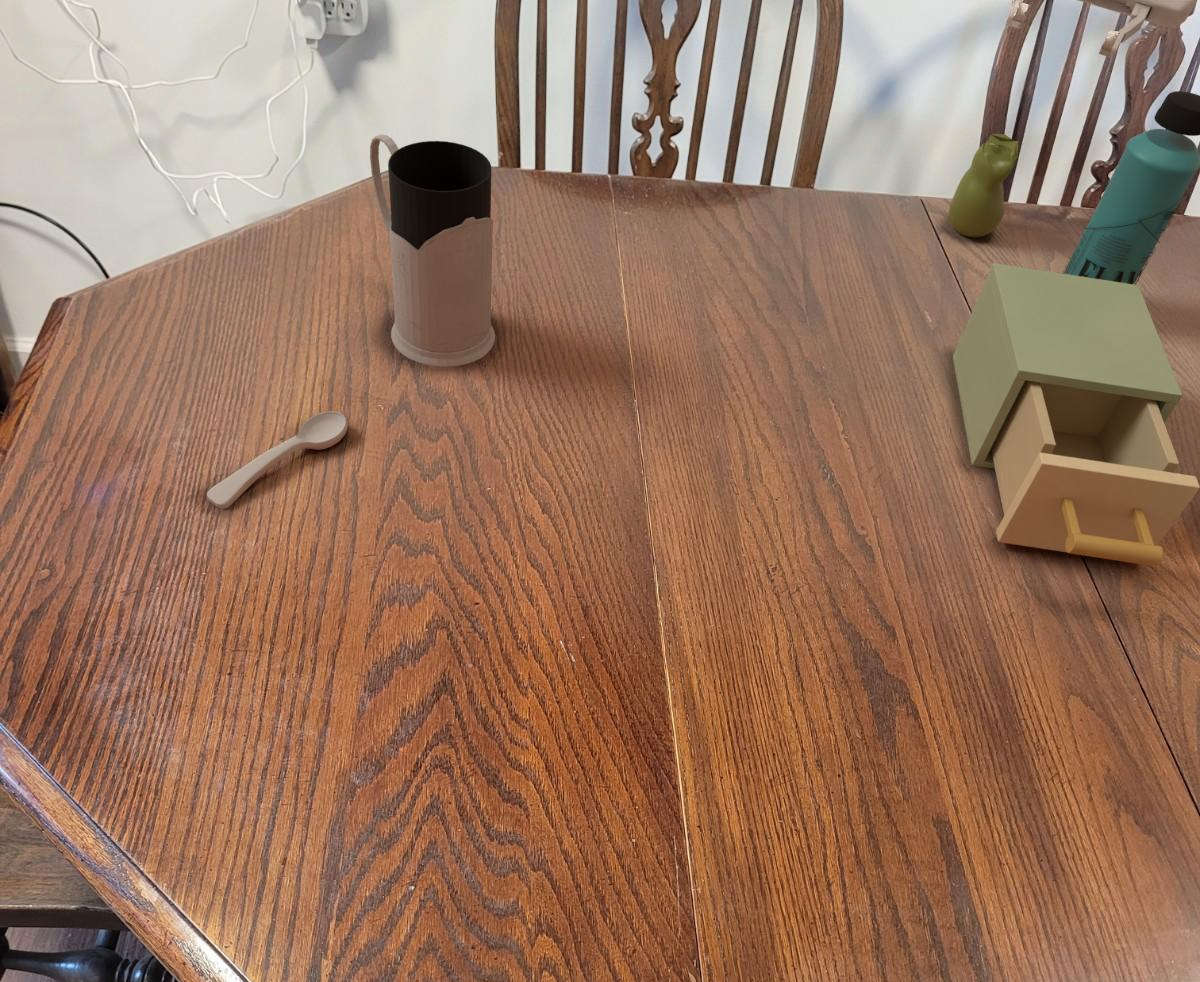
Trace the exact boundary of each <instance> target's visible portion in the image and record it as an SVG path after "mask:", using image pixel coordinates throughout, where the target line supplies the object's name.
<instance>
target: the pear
mask: <svg viewBox="0 0 1200 982" xmlns="http://www.w3.org/2000/svg"><path fill="white" fill-rule="evenodd" d="M1018 153H1019V141H1018V140H1014V139H1012V138H1011V137H1010V136H1008V135H1006V134H1004V133H992V134H991V135H989V137H988V139H987V141H986V142H984V143H983V144H981V146H980V147H979V148H978V149H977V150H976V152H975V153H974V155H973V158H972V160H971V164H970V166H969V168H968V169H967V170H966V172H964V174H963V176H962V177H961V178H960V181H959V182H958V185H957V187H956V190H955V192H954V194H953V196H952V199H951V201H950V204H949V210H948V218H949V222H950V224H951V227H953V229H954V230H955V231H956V232H957V233H958V234H960V235H962V236H965V237H968V238H981V237H984V236H987V235H989V234H991V233H992V232H993V231H994V230H995V229H997V227H998V226H999V224H1000V223H1001V222H1002V220H1003V217H1004V214H1005V210H1006V209H1005V196H1004V195H1005V194H1004V181H1005V180H1006V179H1008V177H1009V175H1011V173H1012V171H1013V169H1014V166H1015V164H1016V161H1017V158H1018Z"/></svg>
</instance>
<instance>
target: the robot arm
mask: <svg viewBox="0 0 1200 982" xmlns="http://www.w3.org/2000/svg"><path fill="white" fill-rule="evenodd" d="M1077 2H1083V3H1085V4H1088V5H1092V6H1095V7H1098V8H1102V9H1105V10H1108V11H1111V12H1115V13H1118V14H1121V15H1125V16H1128V17H1129V18H1128V20H1127V22H1126V24H1125V25H1124V26H1123V27H1122V28H1121V29H1119V30H1114V29H1110V28H1109V30H1108V32H1107V35H1106V36H1105V39H1104V40H1103V43H1102V45H1101V47H1100V49H1099V52H1098V55H1101V56H1104V57H1107V58H1110V59H1114V57H1116V54H1117V52H1118V49H1119V47H1120V45H1121V43H1122V44H1123V43H1124V42H1126V41H1127V40H1129V39H1130V38H1131V37H1132V36H1133V35H1135V34H1136V33H1138V32H1139V31H1140V30H1141V28H1142V26H1143V24H1144V22H1148V23H1152V24H1155V25H1158V26H1161V27H1164V28H1168V29H1174V28H1176V27H1178V26H1179V25H1182V24H1183V23H1184V22H1186V21H1187V20H1188V18H1189V16H1190V14H1191V12H1192V10H1193V8H1194V5H1195V4H1196V2H1197V0H1077ZM1030 6H1031V5H1030V4H1029V3H1026V2H1024V1H1023V0H1011V10H1010V11H1009V14H1008V16H1007V18H1006V23H1005V26H1007V27H1011V28H1014V29H1017V30H1021V29H1022V27H1023V24H1024V22H1025V21H1026V18H1027V16H1028V14H1029V9H1030Z"/></svg>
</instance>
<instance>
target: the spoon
mask: <svg viewBox="0 0 1200 982" xmlns="http://www.w3.org/2000/svg"><path fill="white" fill-rule="evenodd" d="M348 427H349V423H348V420H347V418H346V416H345V415H344V414H343V413H341V412H339V411H334V410H333V411H331V410H330V411H324V412H323V411H322V412H320V413H316V414H315V415H313V416H311V417H309V418H307V419H306V420H305V421H304V422H303V423H302V424H301V426H300V428H299V429H298V432H297V433H296V434H295V435H294V436H292V437H289V438H288V439H286V440H285V441H283V442H281V443H279V444H277V445H275V446H273V447H272V448H270V449H268V450H266V451H264V452H262V453H261V454H259V455H258V456H256V457H255V458H253V459H252V460H250V461H249V462H248V463H246V464H245V465H243V466H242V467H240V468H239V469H237V470H236V471H234V472H233V473H232V474H230V475H228V476H227V477H225V478H224V479H222V480H221V481H220V482H218V483H216V484H215V485H213V486H212V487H211V488H210V489H208V491H207V493H206V497H207V500H208V501H209V503H211V504H212V505H213V506H214V507H216V508H218V509H220V510H226V509H228V508H230V507H231V506H232V505H233V504H234V503H235V502H236V501H237V500H238V499H239V498H240V497H241V496H242V495H243V494H244V493H245V492H246V491H247V490H248V488H250V487H251V486H252V485H253V484H254V483H255V482H256V481H257V480H258V479H259V478H261V477H262V476H263V475H264V474H265V473H266V472H267V471H269V470H270V469H271V468H273V467H274V466H275V465H276V464H277V463H279V462H280V461H281V460H283V459H284V458H286V457H287V456H289V455H291V454H293V453H294V452H297V451H300V450H304V449H307V450H309V449H310V450H315V451H316V450H318V451H319V450H326V449H329V448H331V447H333V446H334V445H336V444H337V443H339V442H341V440H342V439H343V438H344V437H345V435H346V433H347V432H348Z"/></svg>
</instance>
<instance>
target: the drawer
mask: <svg viewBox="0 0 1200 982" xmlns="http://www.w3.org/2000/svg"><path fill="white" fill-rule="evenodd" d="M991 451H992V456H993V461H994V466H995V469H994V471H995V476H996V477H995V478H996V483H997V486H998V491H999V496H1000V501H1001V507H1002V512H1003V517H1002V519H1001V521H1000V523H999V525H998V527H997V528H996V530H995V532H996V538H997V542H998V543H1003V544H1008V545H1009V544H1010V545H1017V546H1022V547H1027V548H1028V547H1029V548H1034V549H1035V548H1036V549H1042V550H1049V551H1054V552H1055V551H1056V552H1063V553H1067V554H1073V555H1078V556H1086V557H1091V558H1099V559H1105V560H1110V561H1118V562H1123V563H1124V562H1125V563H1131V564H1136V565H1137V564H1138V565H1144V566H1150V567H1158V566H1159V565H1160V564H1161V563H1162V560H1163V558H1164V549H1163V547H1162V546H1161V545H1160V543H1161V542H1162V540H1163V539H1164V538H1165V536H1166V535H1167V534H1168V532H1169V531H1170V530H1171V528H1172V527H1173V525H1174V524H1176V521H1177V520H1178V519H1179V517H1180V516H1181V515H1182V513H1183V512H1184V511H1185V509H1186V508H1187V506H1189V504H1190V502H1191V501H1192V500H1193V499H1194V497H1195V496H1196V494H1197V493H1198V491H1199V490H1200V483H1199V481H1198V478H1197V476H1196V475H1190V474H1184V473H1177V472H1175V471H1176V470H1177V468H1178V467H1179V465H1180V461H1179V459H1178V456H1177V454H1176V451H1175V449H1174V446H1173V443H1172V441H1171V437H1170V435H1169V432H1168V430H1167V427H1166V424H1165V423H1164V421H1163V418H1162V416H1161V413H1160V410H1159V408H1158V405H1157V402H1156V400H1151V399H1144V398H1138V397H1131V396H1125V395H1118V394H1112V393H1105V392H1099V391H1092V390H1086V389H1079V388H1073V387H1066V386H1060V385H1053V384H1047V383H1040V382H1034V381H1027V380H1025V382H1024V384H1023V386H1022V388H1021V390H1020V392H1019V394H1018V396H1017V398H1016V400H1015V402H1014V404H1013V405H1012V407H1011V409H1010V411H1009V413H1008V415H1007V417H1006V419H1005V421H1004V423H1003V425H1002V427H1001V429H1000V431H999V433H998V435H997V437H996V439H995V441H994V443H993V445H992V447H991Z"/></svg>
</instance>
